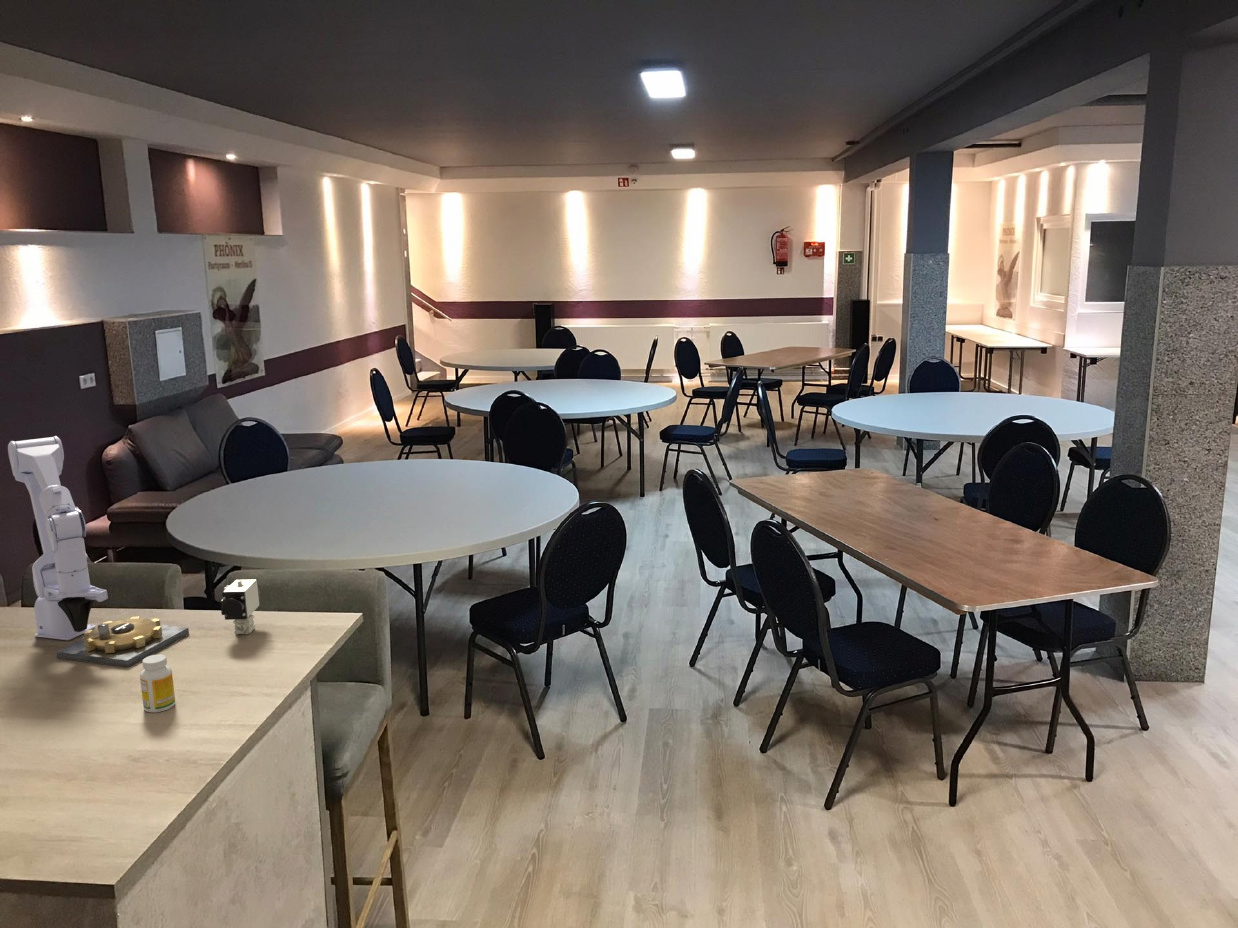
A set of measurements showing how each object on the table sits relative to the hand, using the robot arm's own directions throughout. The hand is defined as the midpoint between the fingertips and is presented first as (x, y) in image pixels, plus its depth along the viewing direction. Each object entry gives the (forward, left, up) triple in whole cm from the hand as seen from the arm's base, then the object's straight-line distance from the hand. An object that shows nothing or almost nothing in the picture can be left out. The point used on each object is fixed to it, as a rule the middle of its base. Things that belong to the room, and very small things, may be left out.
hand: (80, 630), depth 203 cm
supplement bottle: (+34, -17, -5) cm, 38 cm away
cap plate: (+6, +5, -5) cm, 9 cm away
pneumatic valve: (+26, +18, -5) cm, 32 cm away
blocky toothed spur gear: (+6, +5, -3) cm, 8 cm away
